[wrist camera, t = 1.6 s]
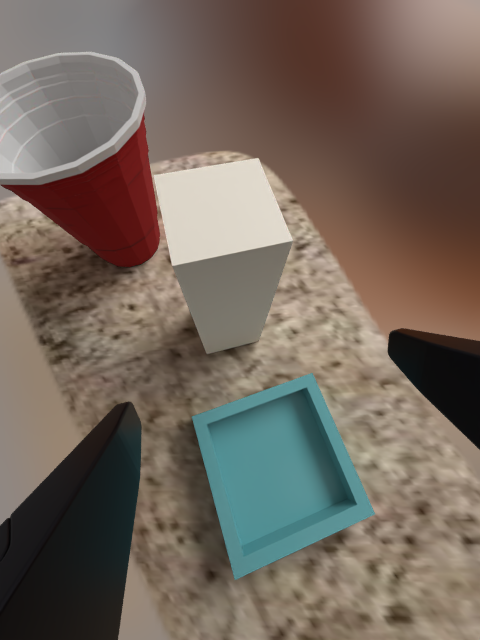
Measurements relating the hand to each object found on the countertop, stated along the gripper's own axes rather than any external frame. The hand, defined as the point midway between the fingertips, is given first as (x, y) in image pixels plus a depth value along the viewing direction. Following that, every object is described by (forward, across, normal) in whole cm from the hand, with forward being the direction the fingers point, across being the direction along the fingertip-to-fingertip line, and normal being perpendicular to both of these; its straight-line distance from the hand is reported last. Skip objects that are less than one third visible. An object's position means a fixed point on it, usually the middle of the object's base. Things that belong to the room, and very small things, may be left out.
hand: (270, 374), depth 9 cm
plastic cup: (+21, +7, -3) cm, 22 cm away
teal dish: (+5, -1, +12) cm, 13 cm away
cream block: (+13, 0, +4) cm, 14 cm away
